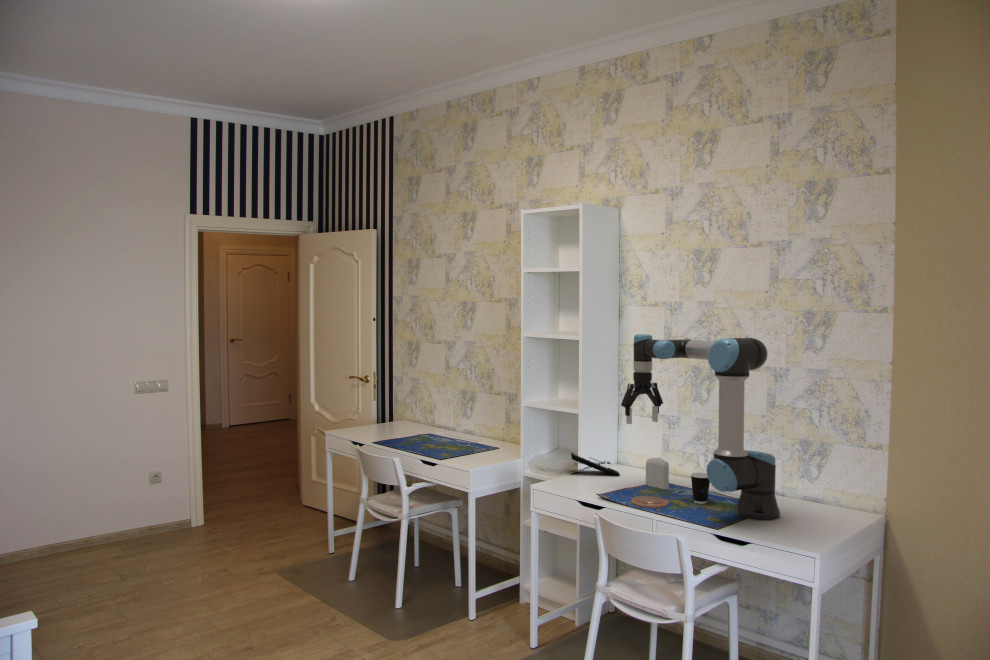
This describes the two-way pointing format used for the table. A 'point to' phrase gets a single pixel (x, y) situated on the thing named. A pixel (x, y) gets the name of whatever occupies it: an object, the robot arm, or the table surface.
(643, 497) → the dish
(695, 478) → the dixie cup
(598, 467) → the black folding stand
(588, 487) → the table surface
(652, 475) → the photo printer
